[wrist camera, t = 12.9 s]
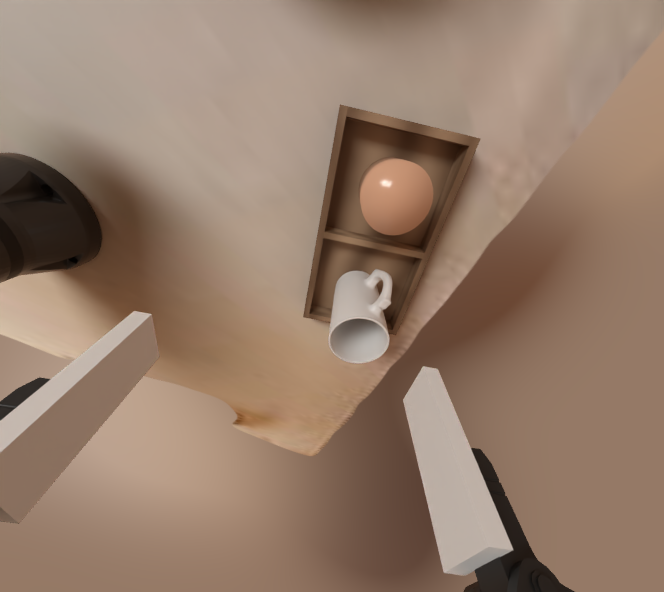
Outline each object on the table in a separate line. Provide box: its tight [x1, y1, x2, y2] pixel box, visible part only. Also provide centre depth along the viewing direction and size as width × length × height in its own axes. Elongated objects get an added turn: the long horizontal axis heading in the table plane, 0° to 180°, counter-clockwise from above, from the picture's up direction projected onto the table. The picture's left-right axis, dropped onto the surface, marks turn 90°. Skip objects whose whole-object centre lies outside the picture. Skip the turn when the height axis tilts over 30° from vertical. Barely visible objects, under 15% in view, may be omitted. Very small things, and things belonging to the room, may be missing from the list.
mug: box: [328, 269, 392, 364], centre depth 32 cm, size 10×7×12 cm, turn 148°
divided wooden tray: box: [303, 105, 480, 335], centre depth 33 cm, size 15×26×3 cm, turn 169°
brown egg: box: [358, 157, 433, 235], centre depth 28 cm, size 7×7×7 cm
